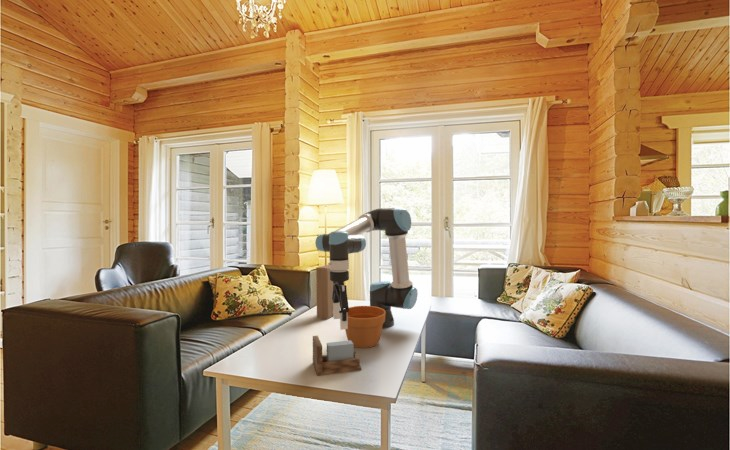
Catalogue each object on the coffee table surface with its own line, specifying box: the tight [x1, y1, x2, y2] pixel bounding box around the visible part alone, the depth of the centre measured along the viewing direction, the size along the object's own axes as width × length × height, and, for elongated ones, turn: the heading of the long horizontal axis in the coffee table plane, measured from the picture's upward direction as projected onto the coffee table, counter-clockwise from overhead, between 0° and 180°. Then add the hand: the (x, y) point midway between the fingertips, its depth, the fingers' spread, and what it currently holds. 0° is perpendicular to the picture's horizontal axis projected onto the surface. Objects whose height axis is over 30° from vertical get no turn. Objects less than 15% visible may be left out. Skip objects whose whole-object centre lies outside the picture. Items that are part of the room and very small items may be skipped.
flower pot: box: [344, 305, 386, 349], centre depth 160 cm, size 21×21×15 cm
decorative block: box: [315, 264, 339, 320], centre depth 206 cm, size 15×8×30 cm, turn 157°
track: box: [312, 335, 362, 377], centre depth 134 cm, size 17×12×11 cm
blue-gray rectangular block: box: [326, 340, 354, 362], centre depth 135 cm, size 10×4×8 cm, turn 105°
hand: (340, 323), depth 135 cm, fingers open, 13 cm apart
